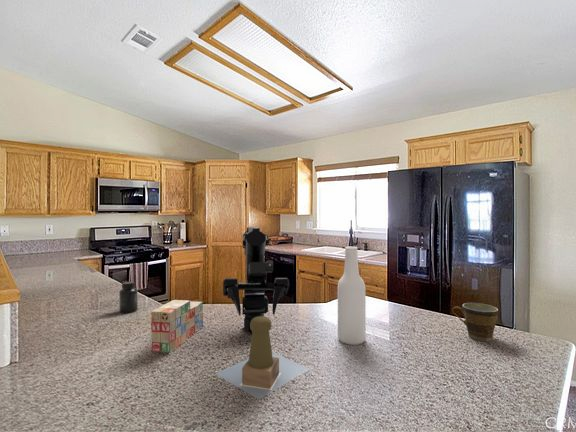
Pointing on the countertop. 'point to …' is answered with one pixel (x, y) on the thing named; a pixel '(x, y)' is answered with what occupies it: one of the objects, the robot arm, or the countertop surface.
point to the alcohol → (351, 301)
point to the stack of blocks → (175, 324)
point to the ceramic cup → (479, 320)
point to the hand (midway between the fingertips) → (257, 314)
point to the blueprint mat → (286, 374)
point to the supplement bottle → (128, 298)
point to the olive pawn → (260, 343)
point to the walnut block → (260, 375)
